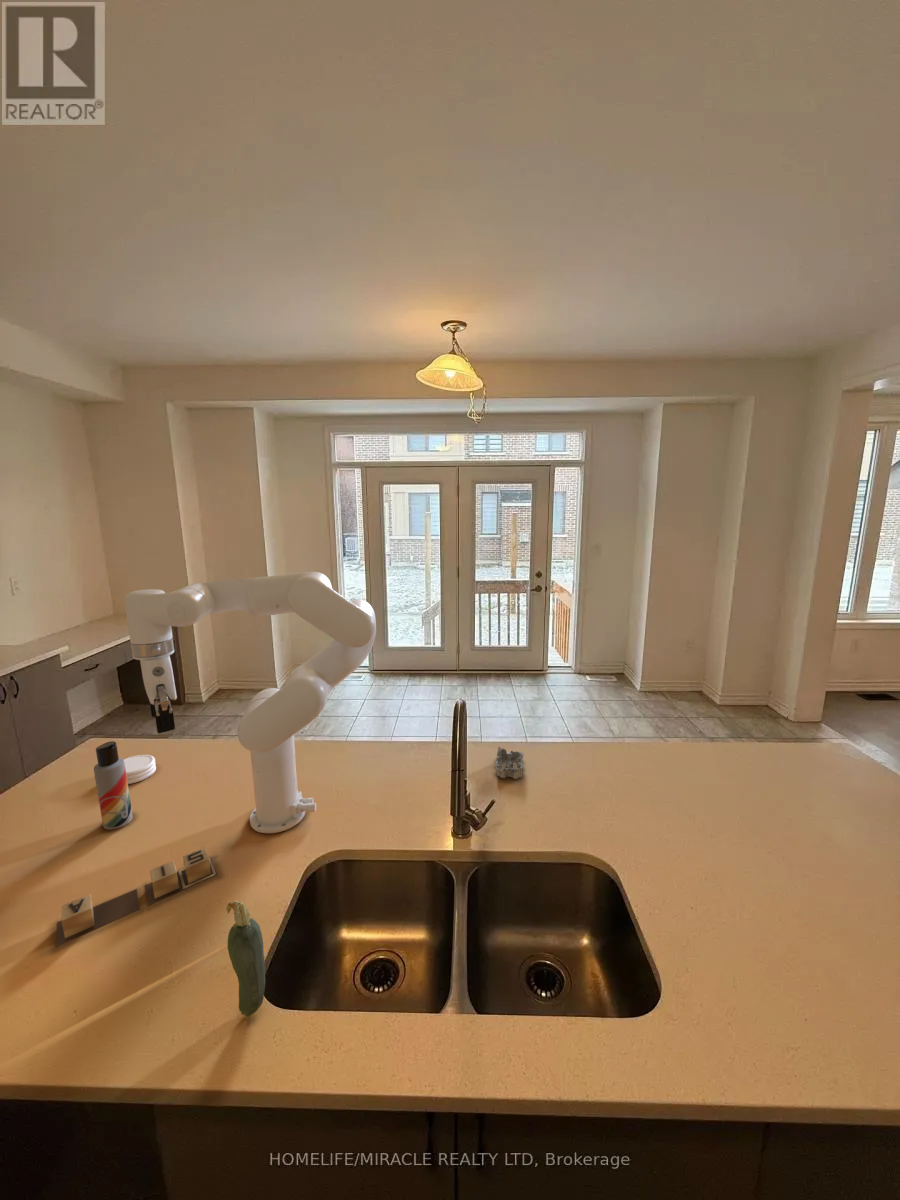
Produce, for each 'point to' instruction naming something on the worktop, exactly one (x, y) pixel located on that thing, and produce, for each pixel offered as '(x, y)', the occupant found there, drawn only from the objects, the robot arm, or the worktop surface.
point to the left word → (93, 915)
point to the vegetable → (247, 958)
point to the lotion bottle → (112, 787)
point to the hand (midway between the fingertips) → (163, 722)
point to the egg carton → (509, 763)
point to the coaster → (139, 767)
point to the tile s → (196, 865)
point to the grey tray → (171, 881)
